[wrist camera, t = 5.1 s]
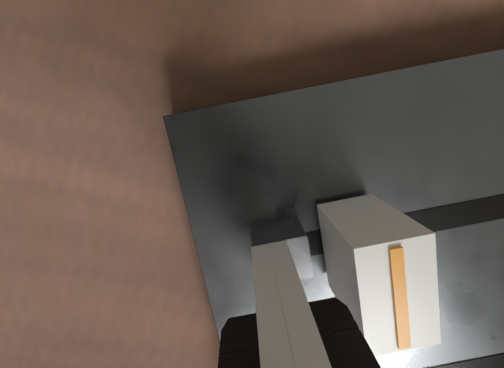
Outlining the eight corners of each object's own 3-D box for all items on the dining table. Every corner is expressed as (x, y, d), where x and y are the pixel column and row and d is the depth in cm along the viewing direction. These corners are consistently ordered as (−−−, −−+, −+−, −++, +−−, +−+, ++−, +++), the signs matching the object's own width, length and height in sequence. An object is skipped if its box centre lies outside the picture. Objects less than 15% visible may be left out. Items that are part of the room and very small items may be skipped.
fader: (316, 204, 14) (354, 250, 9) (372, 193, 14) (437, 234, 9) (328, 283, 15) (368, 360, 10) (380, 273, 15) (443, 346, 10)
